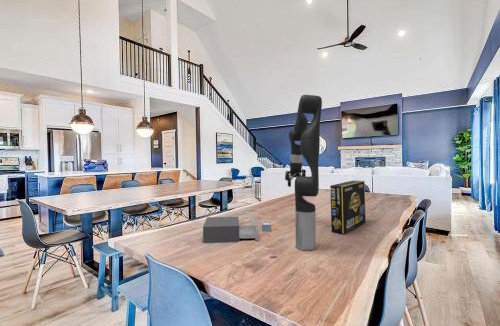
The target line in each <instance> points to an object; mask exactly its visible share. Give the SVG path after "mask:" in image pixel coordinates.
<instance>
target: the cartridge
mask: <svg viewBox="0 0 500 326" xmlns="http://www.w3.org/2000/svg"><path fill="white" fill-rule="evenodd" d="M261 232H265V233H266V232H272V224H271V222H261Z"/></svg>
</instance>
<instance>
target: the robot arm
mask: <svg viewBox="0 0 500 326" xmlns="http://www.w3.org/2000/svg"><path fill="white" fill-rule="evenodd" d="M322 106H323V100H322V97H321V95H315V94H314V95H313V94H303V95H301V96H300V99H299V102H298V106H297V107H298V108H297V113H296V120H295V123H294V127H293V129H290V131H288V138H289V143H290V159H289V160H290V161H289V170H285V174H284V175H285V176H284V180H285V181H287V187H288V188H291V187H292V180H293V179H294V178H295V180H294V201H295V204H294V205H295V207H294V208H295V209H294V210H295V219H294V221H295V228H294V229H295V248H297V249H298V250H301V251H315V249H316V244H317V243H316V242H317V241H316V205H315V204H314V203H312V202H309V201H307V200H306V199H305V198H304V197H317V196H318V194H319V189H320V187H319V185H320V183H319V182H320V181H319V180H320V178H319V175H320V174H319V160H320V159H319V157H320V141H321V139H320V137H321V136H320V134H321V133H320V132H321V128H320V127H321V116H322V108H323V107H322ZM305 114H306V115H307V114H308V115H313V118H312V120H311V122H310V123H309V121H308V120H309V119H308V118H307V116H306V115H305ZM295 142H300V143H299V144H298V143H295ZM303 158H304V161H305V162H306V164H307V165H308V168H309V169H310V174H311V176H307V175H306V173H307V170H306V169H303Z"/></svg>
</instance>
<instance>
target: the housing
mask: <svg viewBox="0 0 500 326" xmlns="http://www.w3.org/2000/svg"><path fill="white" fill-rule="evenodd" d="M203 223H204V224H203V226H202V243H203V244H209V243H212V244H213V243H240V239H239V226H240V220H239V216H212V217H211V216H210V217H208V216H207V217H206V219H205V221H204V222H203Z"/></svg>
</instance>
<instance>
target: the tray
mask: <svg viewBox="0 0 500 326" xmlns="http://www.w3.org/2000/svg"><path fill="white" fill-rule="evenodd" d="M240 239H254V240H255V241H259V225H258V222H257V219H256V216H254V215H253V216H252V225H239V240H240Z"/></svg>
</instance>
